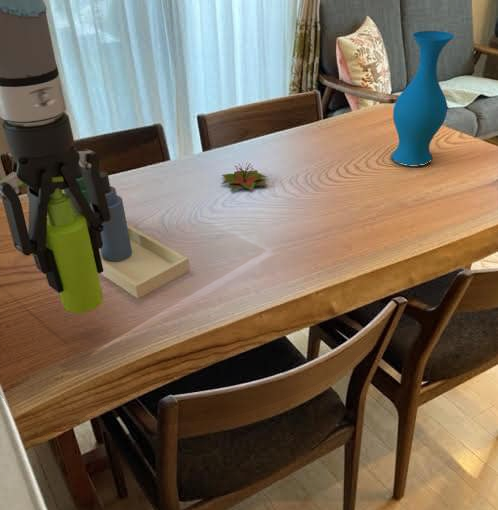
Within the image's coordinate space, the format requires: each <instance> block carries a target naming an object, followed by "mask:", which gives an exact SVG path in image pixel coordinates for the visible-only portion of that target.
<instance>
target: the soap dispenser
mask: <svg viewBox="0 0 498 510" xmlns="http://www.w3.org/2000/svg"><path fill="white" fill-rule="evenodd" d="M52 181H53V182H62V181H64V180H63V176H62V175H60V176H56V177H52ZM27 186H28V185H26V184H25V183H23V182H22V181H20V182H19V184H18V187H19V188H27ZM46 247H47V248H49V249H50V250H52V251H53V255H54V258H55V262H56V265H57V269H58V272H59V276H60V279H61V283H62V286H63V290H64V291H62V292H60V293H59V297H60V300H61V303H62V307H63V308H64V310H66V311H67V312H70V313H74V314H81V313H87V312H91V311H93V310H95V309H97V308H99V307H100V305H101V304H102V303H103V301H104V295H103V294H104V293H103V290H102V286H101V281H100V277H99V273H98V272H97V268H96V263H95V259H94V254H93V250H92V245H91V241H90V236H89V232H88V228H87V223H86V219H85V217H84V216H82V215H80V214H77V213H74V210H73V206H72V201H71V198H70V196H69V195H68V194H64V192H63V190H60V188H57V189H56V190H55V192H54V193H53V194H50V203H49V204H48V206H47V235H46Z"/></svg>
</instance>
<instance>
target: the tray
mask: <svg viewBox="0 0 498 510" xmlns="http://www.w3.org/2000/svg"><path fill="white" fill-rule="evenodd" d="M127 227H128V233H129V238H130V243H131V249H132V255H131V256H130V257H129V258H128V259H126V260H123V261H120V262H109V261H106V260H104V259H103V257H102V253H101V249H99V252H100V257H101V261H102V266H103V272H101V273H100V274H101V275H102V276H103V277H105V278H106V279H108V280H110V281H111V282H112V283H114V284H115V285H117V286H118V287H120V288H122V289H123V290H124V291H126V292H128V293H129V294H130V295H132V296H133V297H135V298H136V299H140V298H142V297H144V296H145V295H148V294H149V293H152V292H153V291H155V290H156V289H159V288H161V287H162V286H164V285H165V284H167V283H169V282H172V281H173V280H175V279H178V278H179V277H180V276H182V275H184V274H186V273H188V272H189V271H190V260H189V257H186V256H185V255H183V254H181V253H180V252H178V251H176V250H174V249H172V248H170V247H169V246H167V245H165V244H163V243H162V242H160V241H158V240H156V239H155V238H153V237H151V236H149V235H147V234H146V233H144V232H142V231H140V230H138V229H137V228H135V227H133V226H131V225H130V224H128V223H127Z"/></svg>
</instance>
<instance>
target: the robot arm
mask: <svg viewBox="0 0 498 510" xmlns="http://www.w3.org/2000/svg"><path fill="white" fill-rule="evenodd" d="M52 41H53V40H52V37H51V31H50V27H49V22H48V17H47V6H46V3H45V2H44V0H0V119H2V120H3V122H2V124H1V126H2V129H3V132H4V135H5V139H6V143H7V145H8V149H9V153H10V155H11V157H12V167H11V172H10V173H9V174H7V175H6V176H4V177H3V178H0V197H1V201H2V204H3V208H4V211H5V216H6V220H7V224H8V227H9V228H8V229H9V231H10V235H11V240H12V243H13V247H14V248H15V249H16V250H18V251H19V252H20V253H21V254H23V255H24V256H26V257H28V256H31V255H32V257H33V260H34V262H35V267H36V269H37V270H38V271H39V272H41V273H42V274H44V275H45V277H46V280H47V284H48V286H49V287H50V288H52V289H53V290H54V291H56V292H57V293H58V294H60V292H62V291H64V290H63V286H62V283H61V279H60V276H59V272H58V269H57V265H56V262H55V258H54V255H53V251H52V250H50V249H49V248H47V247H46V235H47V218H48V216H47V206H48V204H49V203H50V194H53V193H54V192H55V190H56V189H57V188H60V190H62V191H63V192H64V191H65V193H66V194H68V195H69V196H70V198H71V201H72V204H73V206H74V207H75V209H76V211H77V212H78V214H80V215H82V216H84V217H85V219H86V223H87V228H88V232H89V236H90V241H91V245H92V250H93V254H94V259H95V263H96V268H97V272H98V274H101V272H103V266H102V261H101V257H100V252H99V249H100V248H102V247H103V242H102V237H101V233H100V232H102V231H103V229H104V226H103V225H101V224H102V223H104V222H108V221H109V220H110V218H111V216H110V212H109V208H108V204H107V200H106V196H105V193H104V189H103V185H102V181H101V177H100V173H99V172H100V161H101V158H100V154H99V153H97V152H95V151H93V150H90V149H88V148H84V149H82V150H80V151H79V150H78V149H77V148H76V147H75V144H74V143H75V139H74V134H73V129H72V125H71V120H70V117H69V115H68V114H67V113H66V112H65V111H66V110H67V103H66V99H65V95H64V90H63V85H62V81H61V77H60V76H61V75H60V73H59V68H58V65H57V61H56V56H55V51H54V47H53V42H52ZM78 163H79V165H80V166H81V170H82V173H83V177H84V181H85V184H86V188H87V191H88V195H89V198H90V202H91V206H92V209H93V211H92V209H91V207H90V205H89V204H88V202H87V200H86V198H85V197H84V195H83V193H82V192H81V190H80V189H81V187H80V186H79V184H78V182H77V180H76V179H75V177H74V174H75V171H76V168H77V166H78ZM60 175H62V176H63V180H64V181H62V182H53V181H52V177H56V176H60ZM20 181H22V182H23V183H25V184H26V185H28V186H26V195H27V198H28V226H27V222H26V219H25V214H24V210H23V206H22V201H21V199H20V197H19V195H18V194H20V193H21V192H20V186H19V185H18V184H19V182H20Z"/></svg>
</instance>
